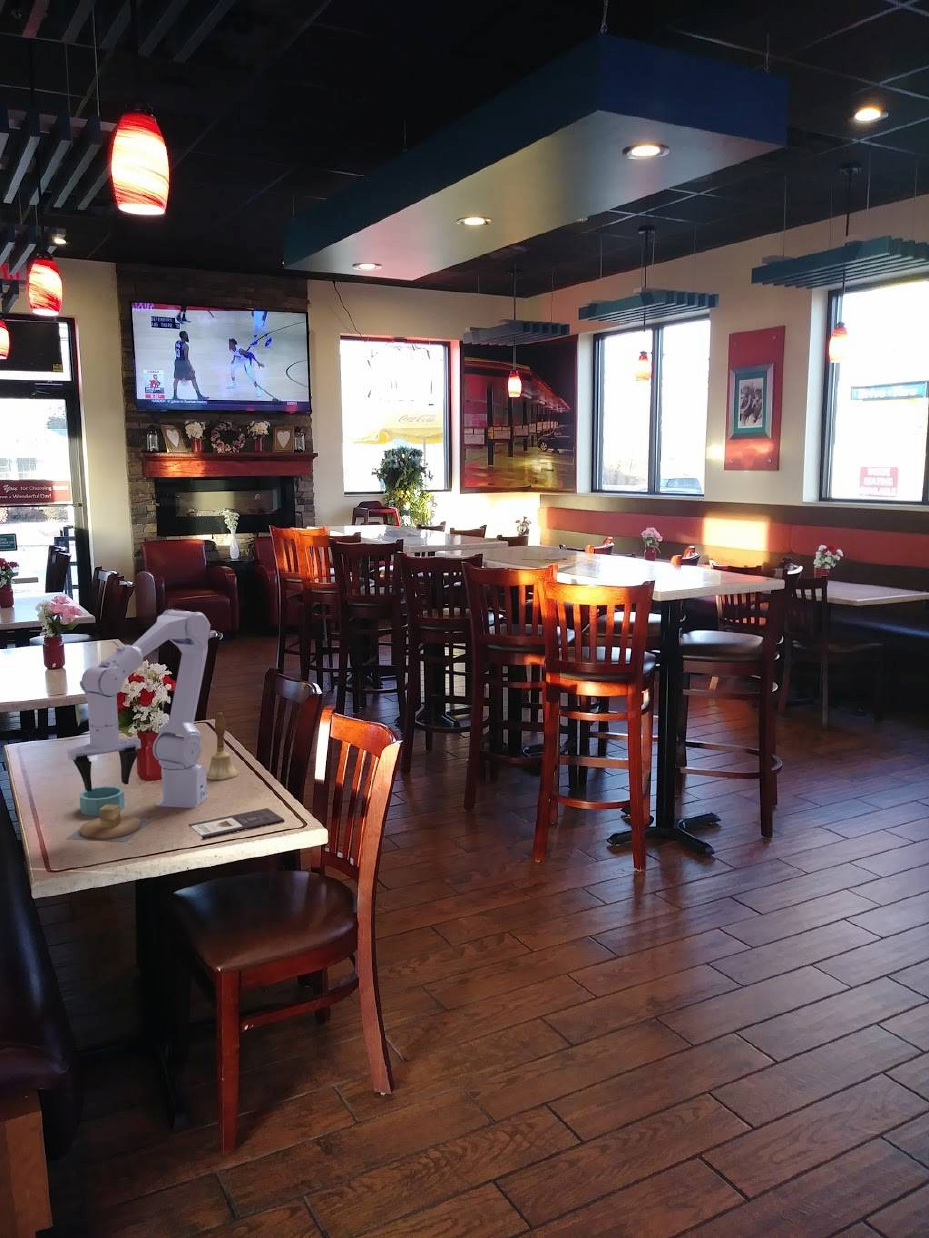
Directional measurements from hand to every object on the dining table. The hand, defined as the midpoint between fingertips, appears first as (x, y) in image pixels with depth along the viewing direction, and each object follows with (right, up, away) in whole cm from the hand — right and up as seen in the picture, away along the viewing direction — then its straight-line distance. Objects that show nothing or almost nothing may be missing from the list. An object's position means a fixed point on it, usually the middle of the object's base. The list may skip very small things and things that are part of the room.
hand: (107, 786), depth 205 cm
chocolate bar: (+26, -10, +5) cm, 28 cm away
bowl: (-6, -8, +14) cm, 17 cm away
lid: (+1, -9, +1) cm, 9 cm away
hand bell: (+14, -4, +39) cm, 42 cm away
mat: (+1, -9, +1) cm, 10 cm away
